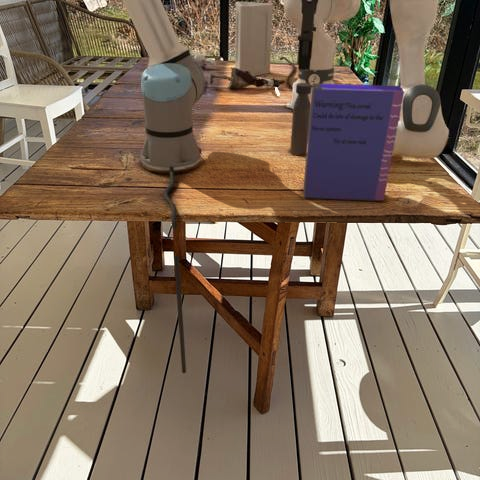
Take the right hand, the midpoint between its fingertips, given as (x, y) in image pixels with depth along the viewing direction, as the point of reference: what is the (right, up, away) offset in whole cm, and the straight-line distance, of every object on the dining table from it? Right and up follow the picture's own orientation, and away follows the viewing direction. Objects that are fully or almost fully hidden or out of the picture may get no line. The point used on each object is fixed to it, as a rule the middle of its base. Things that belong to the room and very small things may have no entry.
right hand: (327, 133), depth 127 cm
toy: (-49, +53, +99) cm, 123 cm away
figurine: (-20, +33, +65) cm, 76 cm away
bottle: (-7, -4, +4) cm, 9 cm away
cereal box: (0, -18, -19) cm, 27 cm away
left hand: (-7, +16, -8) cm, 19 cm away
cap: (-7, +11, -5) cm, 14 cm away
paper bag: (-17, +48, +91) cm, 104 cm away
